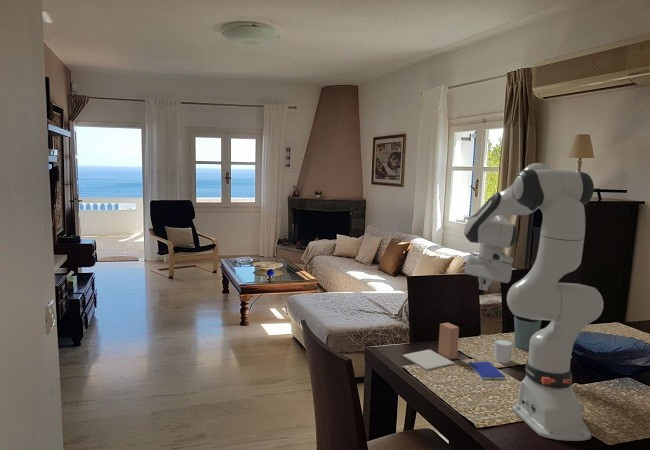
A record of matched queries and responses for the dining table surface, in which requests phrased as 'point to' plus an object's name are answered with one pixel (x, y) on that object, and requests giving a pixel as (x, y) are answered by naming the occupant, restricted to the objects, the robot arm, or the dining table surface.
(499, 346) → the shot glass
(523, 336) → the teal bucket
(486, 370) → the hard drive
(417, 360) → the mat
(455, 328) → the block
